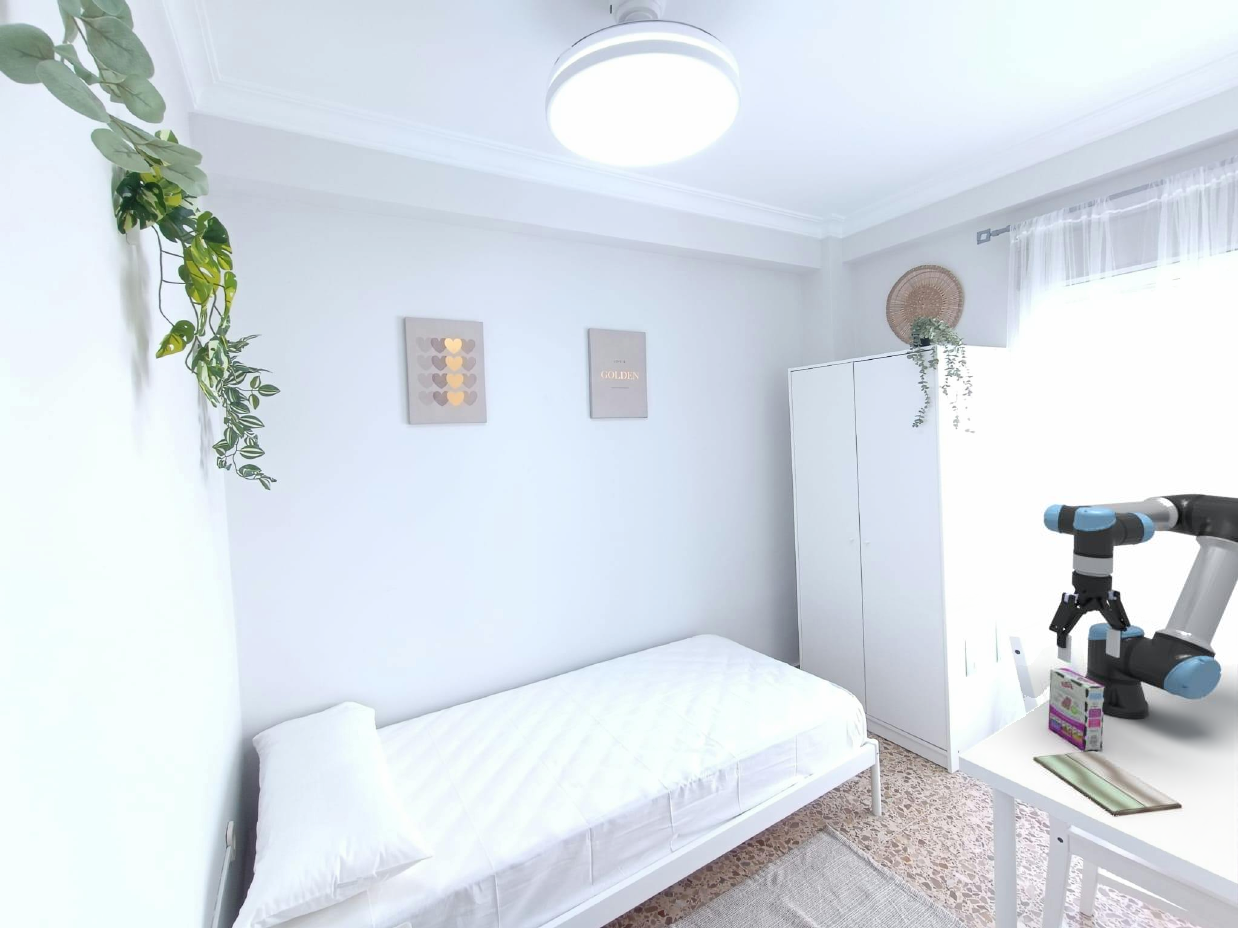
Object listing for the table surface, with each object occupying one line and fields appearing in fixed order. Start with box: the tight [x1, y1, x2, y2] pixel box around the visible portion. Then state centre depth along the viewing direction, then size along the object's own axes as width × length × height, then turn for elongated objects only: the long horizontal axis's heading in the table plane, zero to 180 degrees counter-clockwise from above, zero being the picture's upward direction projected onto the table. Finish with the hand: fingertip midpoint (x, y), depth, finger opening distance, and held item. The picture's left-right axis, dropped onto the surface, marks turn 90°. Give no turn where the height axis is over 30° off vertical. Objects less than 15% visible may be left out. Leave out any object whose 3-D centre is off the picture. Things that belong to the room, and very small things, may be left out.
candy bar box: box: [1047, 667, 1105, 752], centre depth 147 cm, size 11×5×16 cm, turn 5°
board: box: [1033, 751, 1183, 817], centre depth 131 cm, size 16×20×1 cm
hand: (1088, 657), depth 141 cm, fingers open, 13 cm apart
